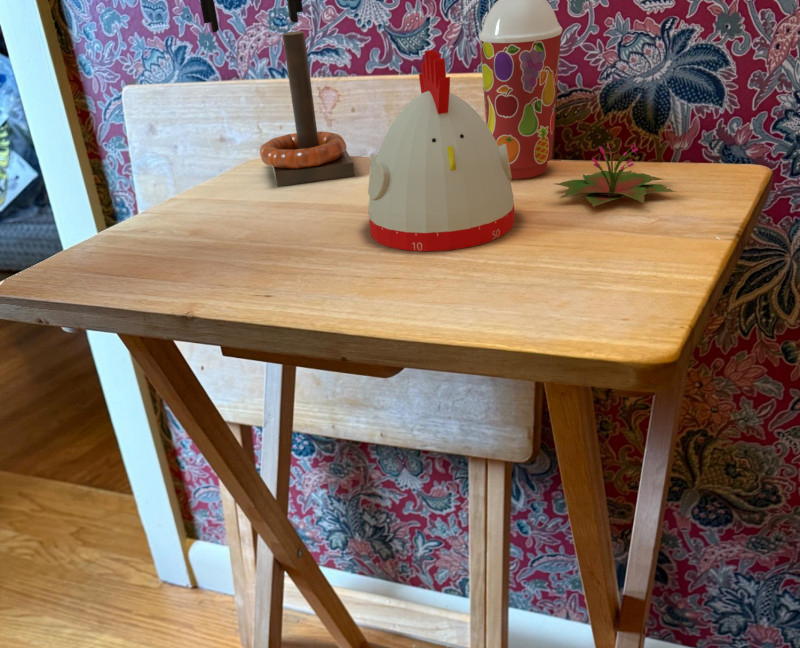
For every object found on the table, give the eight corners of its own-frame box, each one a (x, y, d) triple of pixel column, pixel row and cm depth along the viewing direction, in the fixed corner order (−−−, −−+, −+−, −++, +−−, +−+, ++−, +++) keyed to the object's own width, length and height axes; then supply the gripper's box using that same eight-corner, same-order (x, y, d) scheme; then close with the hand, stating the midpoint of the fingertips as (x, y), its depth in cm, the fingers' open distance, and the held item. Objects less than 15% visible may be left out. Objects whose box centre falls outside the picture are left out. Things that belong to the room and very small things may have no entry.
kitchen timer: (384, 260, 80) (367, 75, 71) (359, 215, 90) (341, 50, 82) (533, 236, 81) (534, 52, 72) (490, 195, 92) (487, 31, 83)
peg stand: (277, 186, 102) (254, 43, 93) (272, 166, 109) (250, 32, 100) (354, 176, 102) (339, 33, 94) (344, 157, 110) (329, 23, 101)
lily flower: (532, 189, 93) (532, 142, 90) (636, 170, 95) (639, 124, 92) (585, 221, 83) (587, 170, 81) (698, 199, 86) (704, 149, 83)
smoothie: (538, 157, 102) (540, -50, 90) (572, 174, 96) (579, -46, 84) (470, 169, 100) (463, -40, 88) (500, 188, 94) (497, -35, 82)
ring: (265, 175, 100) (261, 156, 99) (259, 154, 108) (256, 136, 107) (352, 163, 101) (350, 144, 100) (340, 143, 109) (338, 125, 108)
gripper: (308, -188, 89) (330, 12, 100) (133, -171, 88) (174, 31, 98) (315, -194, 83) (338, 20, 94) (128, -176, 82) (173, 40, 92)
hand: (254, 24), depth 96 cm, fingers open, 8 cm apart
